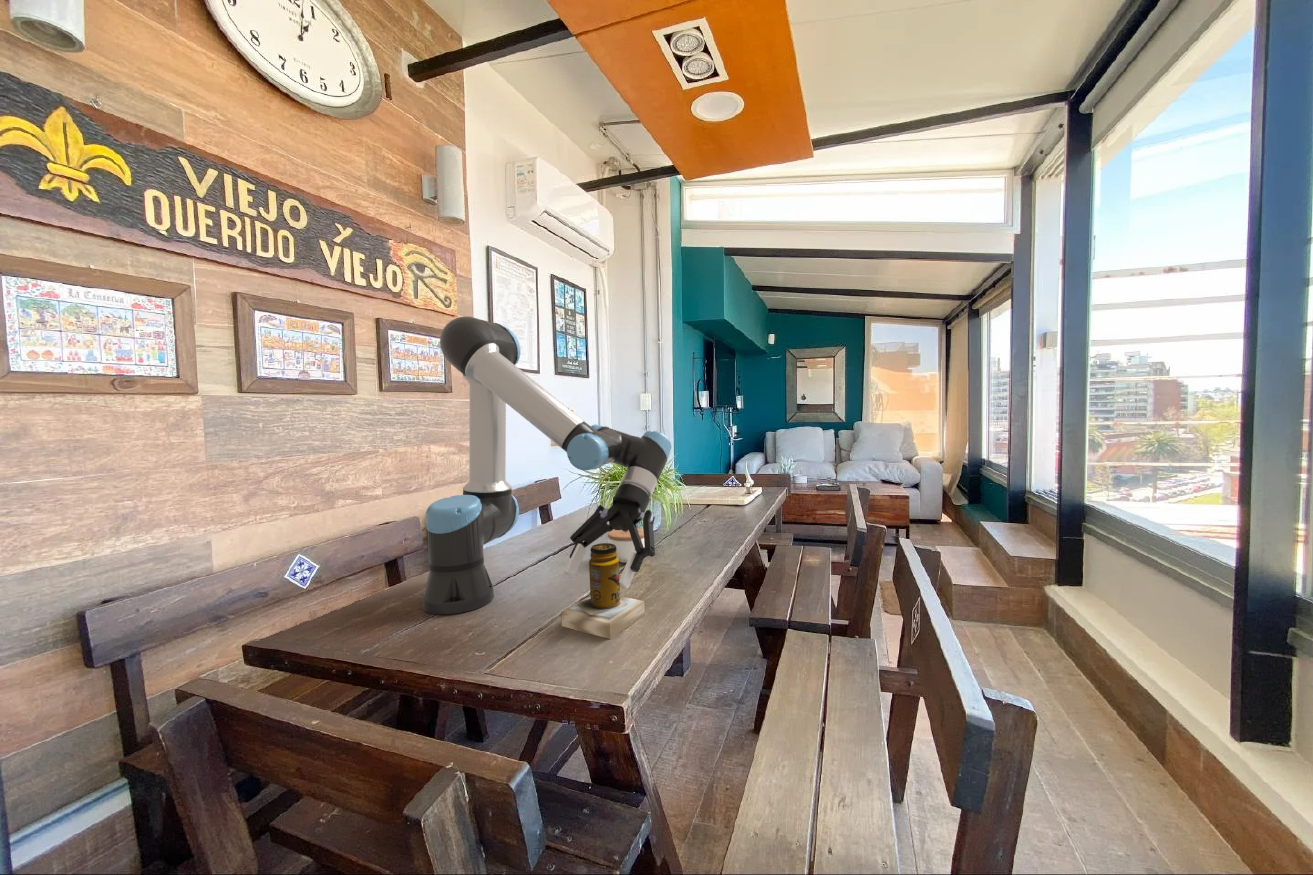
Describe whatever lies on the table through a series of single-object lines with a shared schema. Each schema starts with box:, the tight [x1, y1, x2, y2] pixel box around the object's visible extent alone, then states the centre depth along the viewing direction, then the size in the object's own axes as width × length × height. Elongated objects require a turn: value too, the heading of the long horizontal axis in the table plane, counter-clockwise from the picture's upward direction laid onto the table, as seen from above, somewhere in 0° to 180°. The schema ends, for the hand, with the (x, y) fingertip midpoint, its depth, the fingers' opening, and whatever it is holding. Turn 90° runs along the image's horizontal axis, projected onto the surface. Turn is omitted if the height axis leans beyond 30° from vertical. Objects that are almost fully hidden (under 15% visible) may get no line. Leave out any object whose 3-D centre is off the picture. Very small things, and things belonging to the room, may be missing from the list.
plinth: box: [560, 595, 646, 640], centre depth 104 cm, size 12×12×3 cm
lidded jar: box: [607, 527, 645, 564], centre depth 145 cm, size 11×11×9 cm
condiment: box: [574, 542, 628, 615], centre depth 104 cm, size 7×8×12 cm
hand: (595, 580), depth 102 cm, fingers open, 13 cm apart
